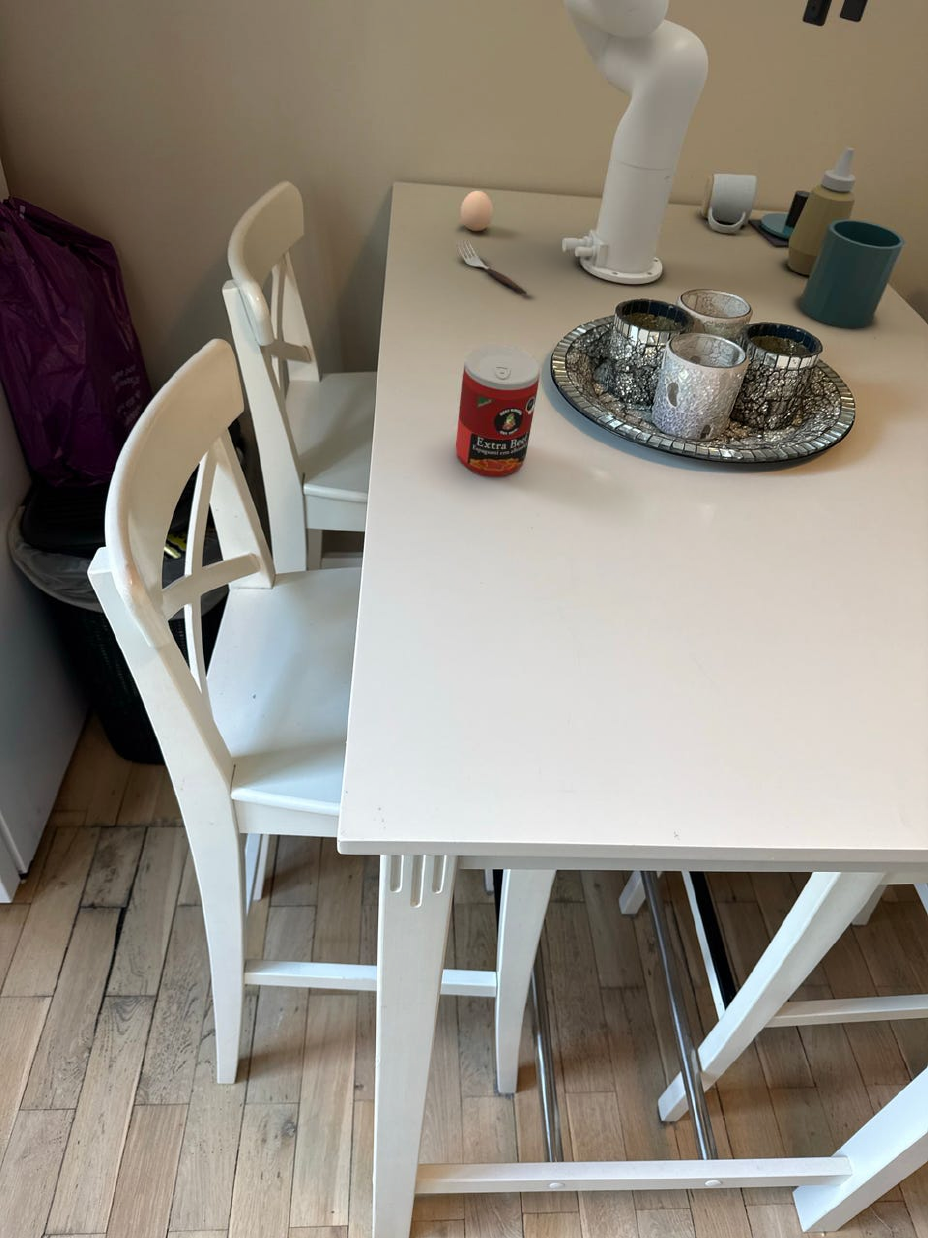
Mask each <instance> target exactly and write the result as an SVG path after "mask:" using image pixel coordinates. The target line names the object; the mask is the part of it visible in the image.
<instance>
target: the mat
mask: <svg viewBox="0 0 928 1238" xmlns="http://www.w3.org/2000/svg"><path fill="white" fill-rule="evenodd" d="M760 221H761V219H749V220H748V222H747V223H748V224H749V225H751V226H752V227H753V228H754V230H756V231H757V232H758V233H759V234H761V236H763V237H764V238H765V239H766V240H767V241H768V242H769V243H770V244H772V245H773V246H774V247H775V248H789V239H785V238H782V237H779V236H777V235H774V234H772V233H770V232H768V231H767V230H765V229H764V228H763V227H762V226H761V224H760Z"/></svg>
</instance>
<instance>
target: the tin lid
mask: <svg viewBox="0 0 928 1238" xmlns="http://www.w3.org/2000/svg"><path fill="white" fill-rule="evenodd" d="M810 193H811V191H806V190H796V191H795V192H794V195H793V198H792V201H791V204H790V207H789V210H788V213H784V212H773V213H767V214H766V213H765V214H764V215H762V217H761V218H760V220H761V221H760V224H761V226H762V227H763V228H764V229H765V230H767V231H768V232H770V233H772V234H774V235H777V236H779V237H782V238H785V239H790V237H791V235H792V233H793V230H794V228H795V226H796V224H797V222H798V219H799V217H800V215H801V213H802V211H803V208H804V206H805V204H806V202H807V199H808V197H809V195H810Z"/></svg>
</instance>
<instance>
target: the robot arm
mask: <svg viewBox="0 0 928 1238" xmlns="http://www.w3.org/2000/svg"><path fill="white" fill-rule="evenodd" d="M868 1H869V0H843V3H842V5H841V9H840V12H839V18H840V19H842V20H846V21H849V22H854V23H860V22H861V21H862V18H863V16H864V13H865V10H866V7H867V4H868ZM832 2H833V0H807V2H806V6H805V10H804V12H803V16H802V22H803V23H806V24H810V25H813V26H817V27H823V26H824V25H825V24H826V22H827V18H828V14H829V12H830V8H831V6H832ZM563 4H564V8H565V10H566V12H567V15H568V17H569V19H570V21H571V23H572V25H573V27H574V29H575V31H576V33H577V35H578V37H579V39H580V41H581V43H582V44H583V46H584V48H585V50H586V52H587V54H588V56H589V58H590V60H591V62H592V63H593V65H594V67H595V69H596V71H597V72H598V73H599V75H600V76H601V78H602V79H603V80H604V81H605V83H607V84H609V86H611V87H613V88H614V89H616V90H618V91H619V92H621V93H623V94H625V95H627V96H628V97H630V98H631V100H630V103H629V105H628V107H627V109H626V110H625V112H624V114H623V115H622V117H621V119H620V121H619V123H618V125H617V128H616V131H615V133H614V137H613V141H612V146H611V151H610V158H609V163H608V168H607V174H606V178H605V183H604V188H603V193H602V199H601V203H600V209H599V213H598V219H597V224H596V228H595V229H590V230H589V233H588V235H584V236H583V237H582V238H576V237H564V238H563V239H562V242H561V247H562V248H561V249H562V251H563V253H564V252H567V253H568V252H571V253H572V252H574V255H575V256H574V257H577V258H580V259H579V262H580V265H581V266H582V268H583V269H584V270H585V271H587V272H588V273H589V274H591V275H593V276H595V277H597V278H599V279H602V280H605V281H609V282H613V283H616V284H617V283H618V284H625V285H642V284H648V283H652V282H654V281H656V280H658V279H659V278H660V277H661V275H662V272H663V268H664V267H663V263H662V262H661V260H660V259H659V258H657V257H656V254H657V250H658V246H659V242H660V238H661V233H662V230H663V227H664V226H663V225H664V221H665V218H666V213H667V209H668V205H669V202H670V201H669V200H670V197H671V193H672V189H673V185H674V181H675V177H676V172H677V168H678V164H679V159H680V156H681V151H682V148H683V145H684V140H685V136H686V133H687V130H688V127H689V123H690V122H691V118H692V116H693V113H694V111H695V108H696V106H697V104H698V102H699V99H700V97H701V94H702V93H703V91H704V88H705V84H706V81H707V77H708V73H709V58H708V57H709V56H708V53H707V50H706V47H705V45H704V43H703V42H702V41H701V39H700V38H699V37H698V36H697V35H696V34H695V33H694V32H693V31H691V30H690V29H688V28H686V27H684V26H682V25H680V24H678V23H675V22H672V21H670V20H668V19H665V17H666V15H667V13H668V9H669V4H670V0H563Z"/></svg>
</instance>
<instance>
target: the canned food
mask: <svg viewBox="0 0 928 1238" xmlns="http://www.w3.org/2000/svg"><path fill="white" fill-rule="evenodd" d="M462 372H463V373H462V379H461V381H462V382H461V389H460V390H461V391H460V400H459V412H458V422H457V430H456V441H455V450H456V455H457V459H458V460H459V462H460V463H461V464H462V466H464V467H465V468H466V469H468V470H469V471H472V472H473V473H476V474H479V475H483V476H489V477H501V476H502V477H503V476H506V475H511V474H513V473H514V472H516V471H517V470H519V469H520V467H521V466H522V465H523V464H524V461H525V459H526V457H527V451H528V446H529V440H530V435H531V431H532V423H533V418H534V412H535V407H536V402H537V401H536V400H537V395H538V391H539V390H538V389H539V382H540V376H541V365H540V363H539V362H538V360H537V359H536V358H535V357H534V356H533V355H531V354H530V353H528V352H526V351H524V350H523V349H519V348H517V347H513V346H508V345H500V344H492V345H490V344H489V345H483V346H479V347H476V348H474V349H472V350H471V351H469V352H468V353H467V355H466V356H465V361H464V365H463V371H462Z"/></svg>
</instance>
